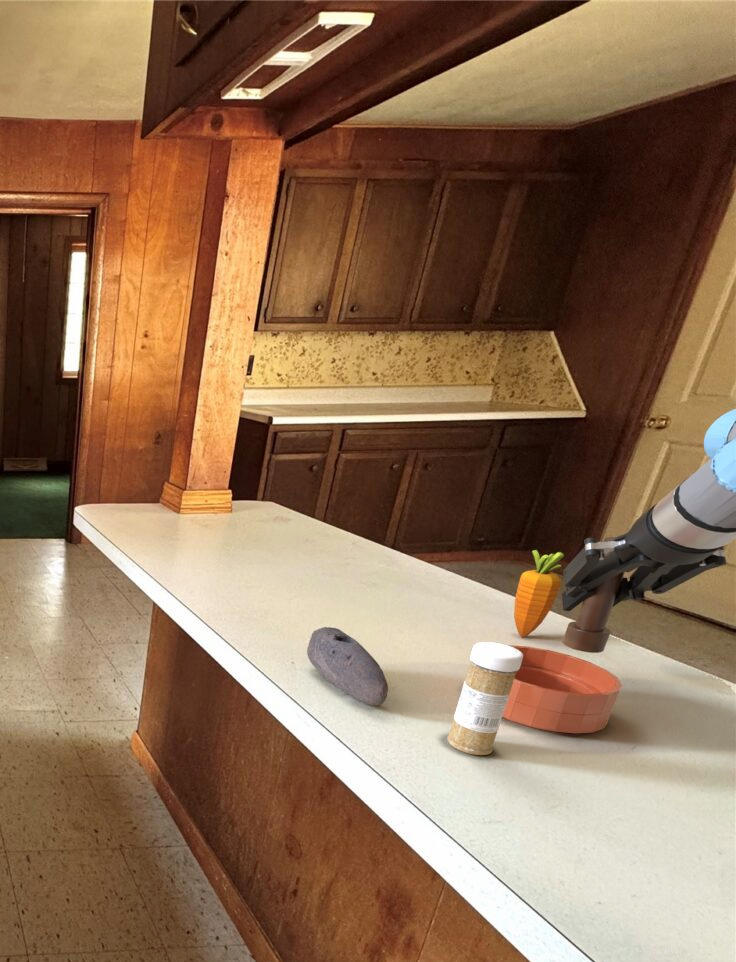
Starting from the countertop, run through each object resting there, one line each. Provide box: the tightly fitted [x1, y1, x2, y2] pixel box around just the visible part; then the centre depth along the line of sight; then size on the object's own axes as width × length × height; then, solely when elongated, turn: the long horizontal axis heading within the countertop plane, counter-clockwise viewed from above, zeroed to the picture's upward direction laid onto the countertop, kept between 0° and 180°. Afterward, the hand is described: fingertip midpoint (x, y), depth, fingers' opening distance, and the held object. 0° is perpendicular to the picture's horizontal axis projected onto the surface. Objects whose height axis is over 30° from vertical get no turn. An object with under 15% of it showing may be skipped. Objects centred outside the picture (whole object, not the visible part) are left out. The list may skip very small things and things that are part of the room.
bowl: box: [502, 644, 623, 734], centre depth 88 cm, size 14×14×6 cm
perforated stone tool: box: [306, 626, 389, 707], centre depth 94 cm, size 15×5×7 cm, turn 1°
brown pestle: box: [562, 536, 626, 654], centre depth 92 cm, size 4×4×16 cm
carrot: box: [513, 549, 565, 638], centre depth 106 cm, size 5×5×15 cm
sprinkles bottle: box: [446, 641, 523, 756], centre depth 79 cm, size 5×5×13 cm
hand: (582, 603), depth 97 cm, fingers closed on brown pestle, 3 cm apart
